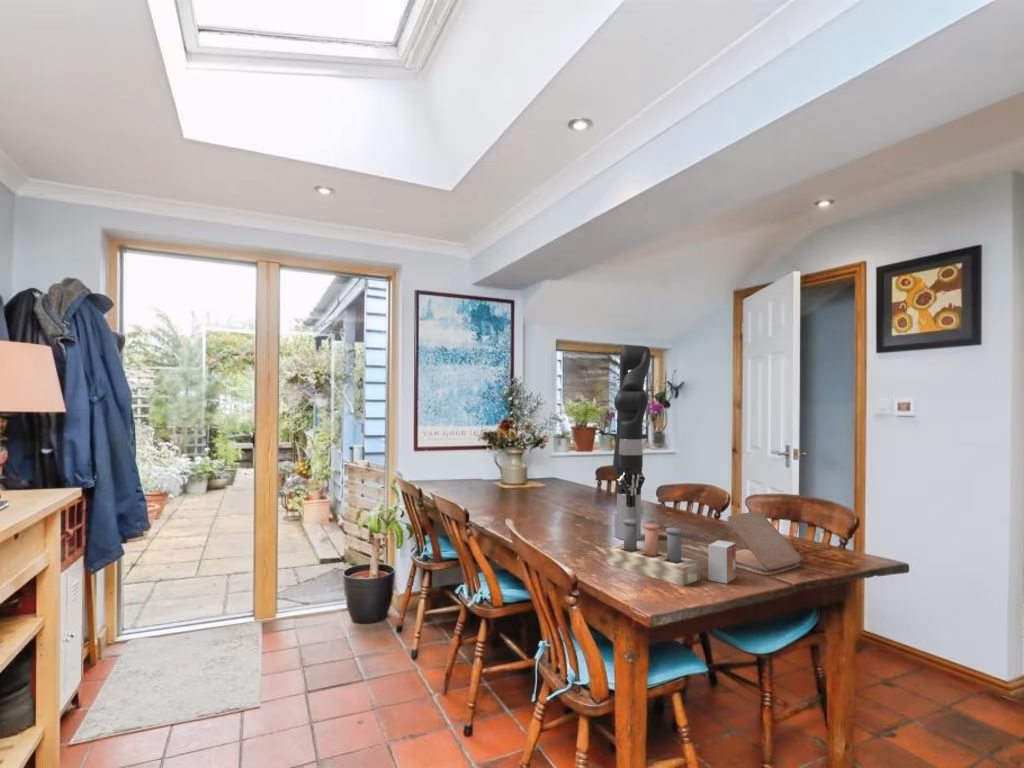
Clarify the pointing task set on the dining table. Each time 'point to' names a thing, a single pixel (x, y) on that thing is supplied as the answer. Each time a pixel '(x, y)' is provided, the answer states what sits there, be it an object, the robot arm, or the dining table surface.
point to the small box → (722, 561)
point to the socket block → (654, 565)
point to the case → (762, 545)
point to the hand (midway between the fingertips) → (630, 506)
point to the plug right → (674, 545)
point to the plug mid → (651, 539)
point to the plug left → (630, 535)
